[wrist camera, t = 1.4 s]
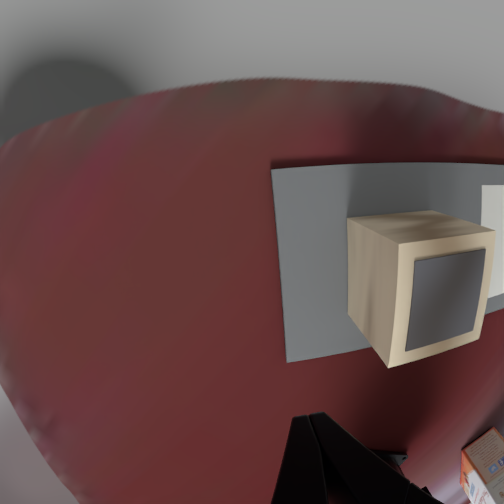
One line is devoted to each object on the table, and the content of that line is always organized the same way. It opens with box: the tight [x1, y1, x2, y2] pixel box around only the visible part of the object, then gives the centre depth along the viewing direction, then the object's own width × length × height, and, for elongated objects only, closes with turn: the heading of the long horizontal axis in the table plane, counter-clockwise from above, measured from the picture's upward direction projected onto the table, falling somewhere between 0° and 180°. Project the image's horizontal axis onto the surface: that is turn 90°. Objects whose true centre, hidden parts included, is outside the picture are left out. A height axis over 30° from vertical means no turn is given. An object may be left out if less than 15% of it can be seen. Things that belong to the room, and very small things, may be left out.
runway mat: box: [271, 162, 504, 363], centre depth 19 cm, size 26×12×1 cm, turn 96°
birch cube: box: [347, 210, 496, 368], centre depth 15 cm, size 6×6×6 cm
